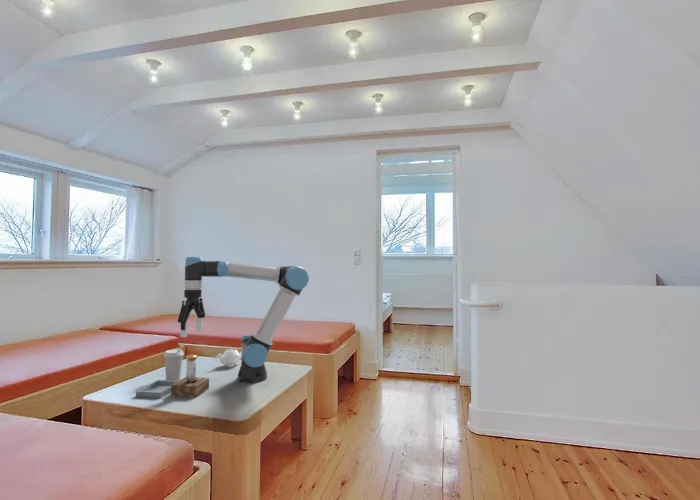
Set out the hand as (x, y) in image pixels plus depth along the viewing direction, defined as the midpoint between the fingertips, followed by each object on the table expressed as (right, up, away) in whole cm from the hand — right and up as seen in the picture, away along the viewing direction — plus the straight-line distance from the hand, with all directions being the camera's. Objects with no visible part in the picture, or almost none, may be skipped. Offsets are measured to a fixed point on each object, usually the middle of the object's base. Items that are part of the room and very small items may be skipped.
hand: (191, 334), depth 172 cm
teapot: (+4, -29, +43) cm, 52 cm away
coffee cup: (-17, -28, +16) cm, 36 cm away
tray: (-15, -27, 0) cm, 31 cm away
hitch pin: (0, -27, -1) cm, 27 cm away
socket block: (0, -27, -1) cm, 27 cm away
